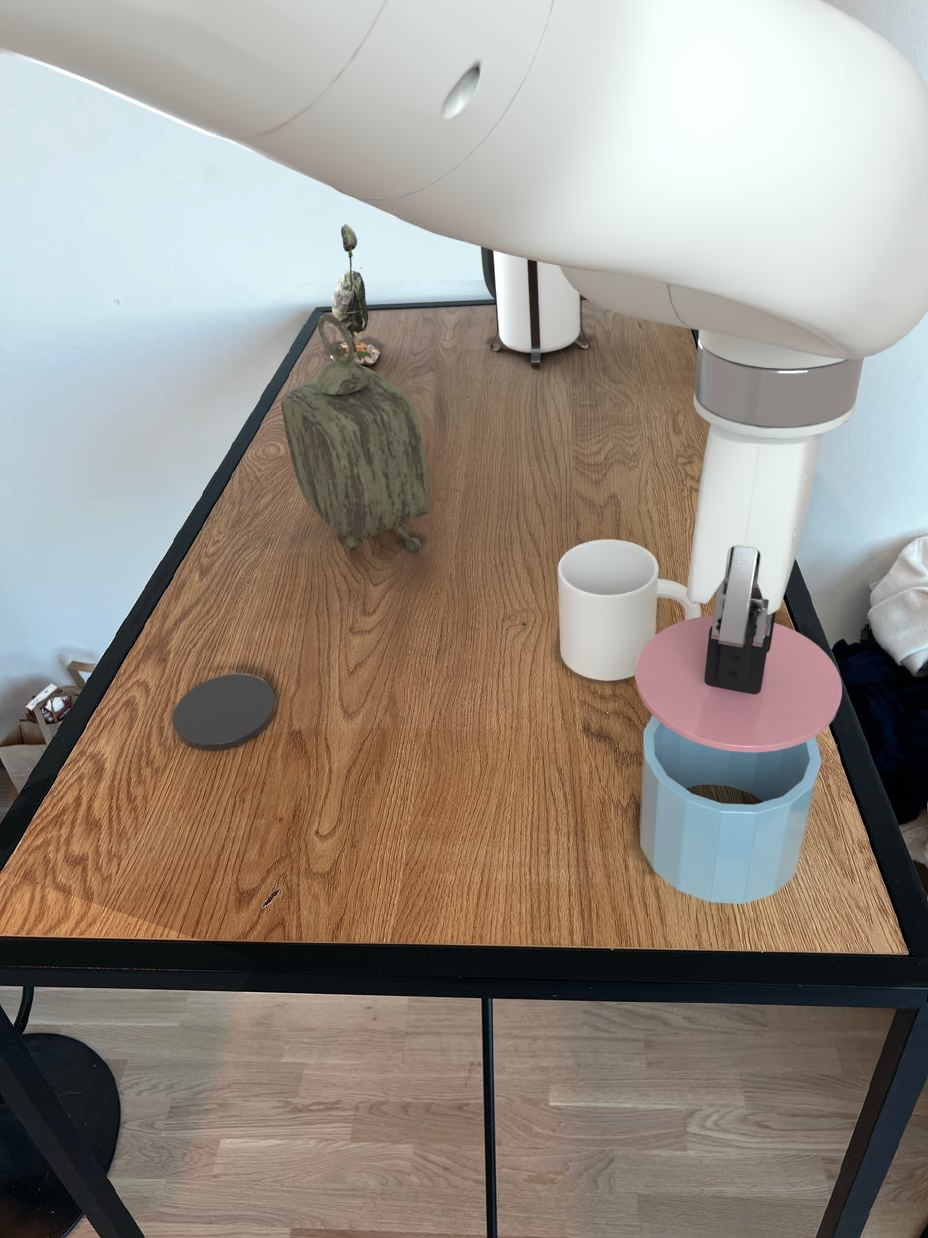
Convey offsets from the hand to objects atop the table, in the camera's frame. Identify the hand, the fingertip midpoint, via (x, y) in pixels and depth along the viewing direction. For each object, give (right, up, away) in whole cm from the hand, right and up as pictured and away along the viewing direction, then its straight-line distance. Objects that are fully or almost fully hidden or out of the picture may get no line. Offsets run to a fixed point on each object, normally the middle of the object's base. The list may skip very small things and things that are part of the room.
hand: (737, 664), depth 56 cm
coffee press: (-6, +44, +85) cm, 96 cm away
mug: (-2, -1, +28) cm, 28 cm away
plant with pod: (-33, +43, +88) cm, 104 cm away
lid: (0, -1, +1) cm, 1 cm away
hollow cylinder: (+2, -14, +11) cm, 18 cm away
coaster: (-37, -6, +27) cm, 46 cm away
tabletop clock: (-27, +11, +47) cm, 56 cm away
